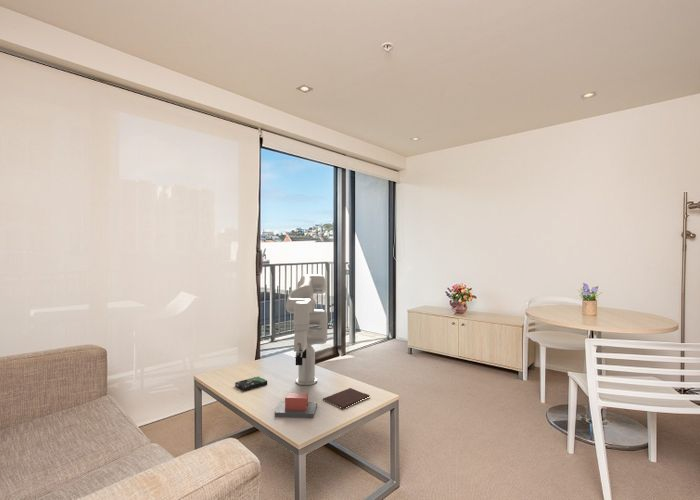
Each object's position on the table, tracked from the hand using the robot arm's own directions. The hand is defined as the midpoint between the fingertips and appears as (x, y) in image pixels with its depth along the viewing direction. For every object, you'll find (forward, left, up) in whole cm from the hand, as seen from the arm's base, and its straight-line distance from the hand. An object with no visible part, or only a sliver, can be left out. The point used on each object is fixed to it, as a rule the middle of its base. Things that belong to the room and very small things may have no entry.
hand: (301, 361), depth 172 cm
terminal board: (+4, -1, -23) cm, 23 cm away
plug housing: (+4, -1, -21) cm, 21 cm away
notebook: (-12, +22, -23) cm, 34 cm away
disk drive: (-25, -33, -23) cm, 48 cm away
